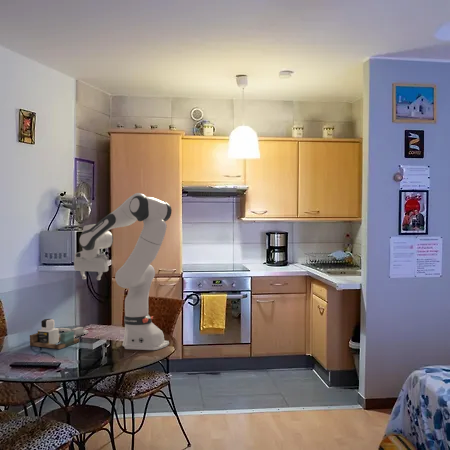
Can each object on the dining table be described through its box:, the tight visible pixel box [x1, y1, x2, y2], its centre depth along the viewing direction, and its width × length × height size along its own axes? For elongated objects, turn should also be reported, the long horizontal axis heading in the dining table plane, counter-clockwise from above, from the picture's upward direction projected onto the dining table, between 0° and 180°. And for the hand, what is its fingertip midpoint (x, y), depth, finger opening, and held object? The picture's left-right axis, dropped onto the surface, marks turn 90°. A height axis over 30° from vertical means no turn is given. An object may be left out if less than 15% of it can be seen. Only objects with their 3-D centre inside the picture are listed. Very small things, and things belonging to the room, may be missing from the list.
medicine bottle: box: [37, 318, 60, 344], centre depth 233 cm, size 7×7×12 cm
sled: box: [29, 331, 80, 350], centre depth 232 cm, size 18×14×6 cm
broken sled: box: [58, 326, 89, 338], centre depth 249 cm, size 19×14×4 cm
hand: (91, 279), depth 254 cm, fingers open, 8 cm apart
